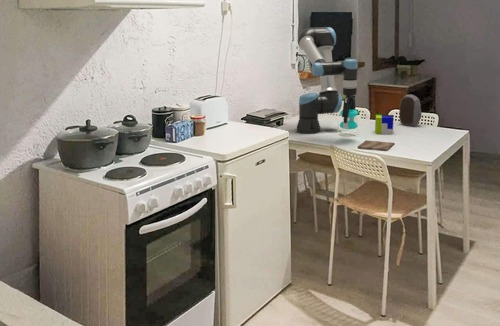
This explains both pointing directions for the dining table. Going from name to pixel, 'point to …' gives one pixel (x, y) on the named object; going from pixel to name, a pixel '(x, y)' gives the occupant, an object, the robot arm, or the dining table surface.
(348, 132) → the dining table surface
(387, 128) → the puzzle toy
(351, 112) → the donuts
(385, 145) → the walnut board
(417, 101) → the soft grey pack
